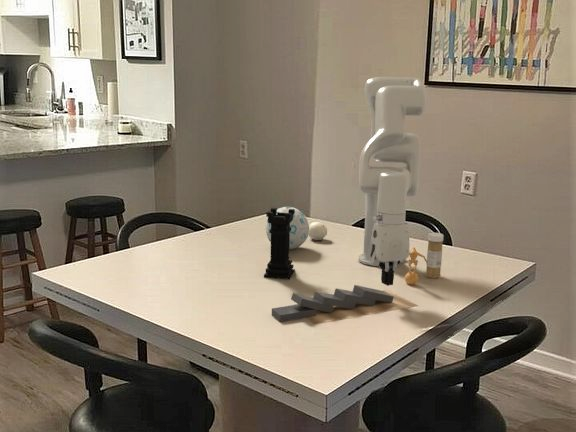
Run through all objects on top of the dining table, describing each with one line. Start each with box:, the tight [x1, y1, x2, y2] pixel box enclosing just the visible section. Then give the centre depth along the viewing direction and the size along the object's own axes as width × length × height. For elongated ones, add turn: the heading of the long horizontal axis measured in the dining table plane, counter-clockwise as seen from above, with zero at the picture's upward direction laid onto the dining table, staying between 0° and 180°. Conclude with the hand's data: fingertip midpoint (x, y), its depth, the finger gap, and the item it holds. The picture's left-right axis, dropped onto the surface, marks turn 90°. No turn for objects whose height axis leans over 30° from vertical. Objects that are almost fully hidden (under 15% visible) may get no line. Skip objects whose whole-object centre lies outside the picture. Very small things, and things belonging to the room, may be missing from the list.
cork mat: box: [287, 289, 419, 325], centre depth 173 cm, size 32×14×1 cm, turn 116°
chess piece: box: [263, 207, 296, 281], centre depth 197 cm, size 8×8×20 cm
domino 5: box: [352, 284, 394, 303], centre depth 175 cm, size 2×5×10 cm
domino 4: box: [333, 288, 376, 306], centre depth 173 cm, size 2×5×10 cm
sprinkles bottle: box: [425, 232, 444, 279], centre depth 199 cm, size 5×5×14 cm
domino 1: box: [271, 303, 316, 323], centre depth 165 cm, size 2×5×10 cm
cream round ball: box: [308, 221, 328, 241], centre depth 240 cm, size 7×7×7 cm
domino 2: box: [290, 292, 334, 313], centre depth 167 cm, size 2×5×10 cm
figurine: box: [404, 246, 427, 286], centre depth 190 cm, size 8×6×12 cm
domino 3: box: [312, 290, 356, 309], centre depth 170 cm, size 2×5×10 cm
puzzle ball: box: [265, 206, 310, 251], centre depth 226 cm, size 15×15×15 cm
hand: (387, 283), depth 177 cm, fingers closed
